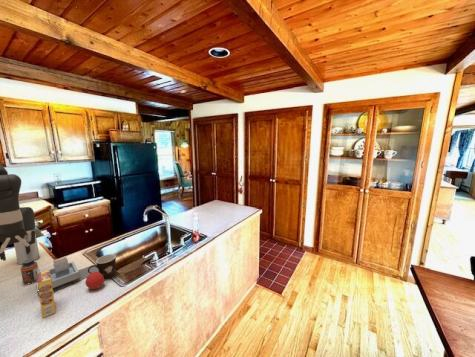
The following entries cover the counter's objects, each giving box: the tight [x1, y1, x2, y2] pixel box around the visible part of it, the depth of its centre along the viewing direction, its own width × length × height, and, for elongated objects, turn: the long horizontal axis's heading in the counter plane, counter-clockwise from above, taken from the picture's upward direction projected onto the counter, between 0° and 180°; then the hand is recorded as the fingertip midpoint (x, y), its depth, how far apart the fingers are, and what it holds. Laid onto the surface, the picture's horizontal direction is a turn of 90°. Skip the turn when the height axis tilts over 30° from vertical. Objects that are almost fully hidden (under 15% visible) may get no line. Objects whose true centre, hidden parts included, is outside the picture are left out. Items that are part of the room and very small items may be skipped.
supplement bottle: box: [20, 259, 39, 285], centre depth 99 cm, size 6×6×11 cm
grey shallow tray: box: [37, 261, 80, 288], centre depth 98 cm, size 14×14×8 cm
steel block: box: [52, 257, 70, 279], centre depth 99 cm, size 5×5×8 cm
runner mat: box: [36, 263, 99, 298], centre depth 102 cm, size 11×26×1 cm, turn 138°
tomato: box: [84, 272, 105, 290], centre depth 95 cm, size 8×8×8 cm
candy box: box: [36, 269, 56, 319], centre depth 81 cm, size 9×4×15 cm, turn 47°
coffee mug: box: [88, 253, 117, 281], centre depth 102 cm, size 12×9×10 cm
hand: (16, 256), depth 87 cm, fingers open, 6 cm apart
